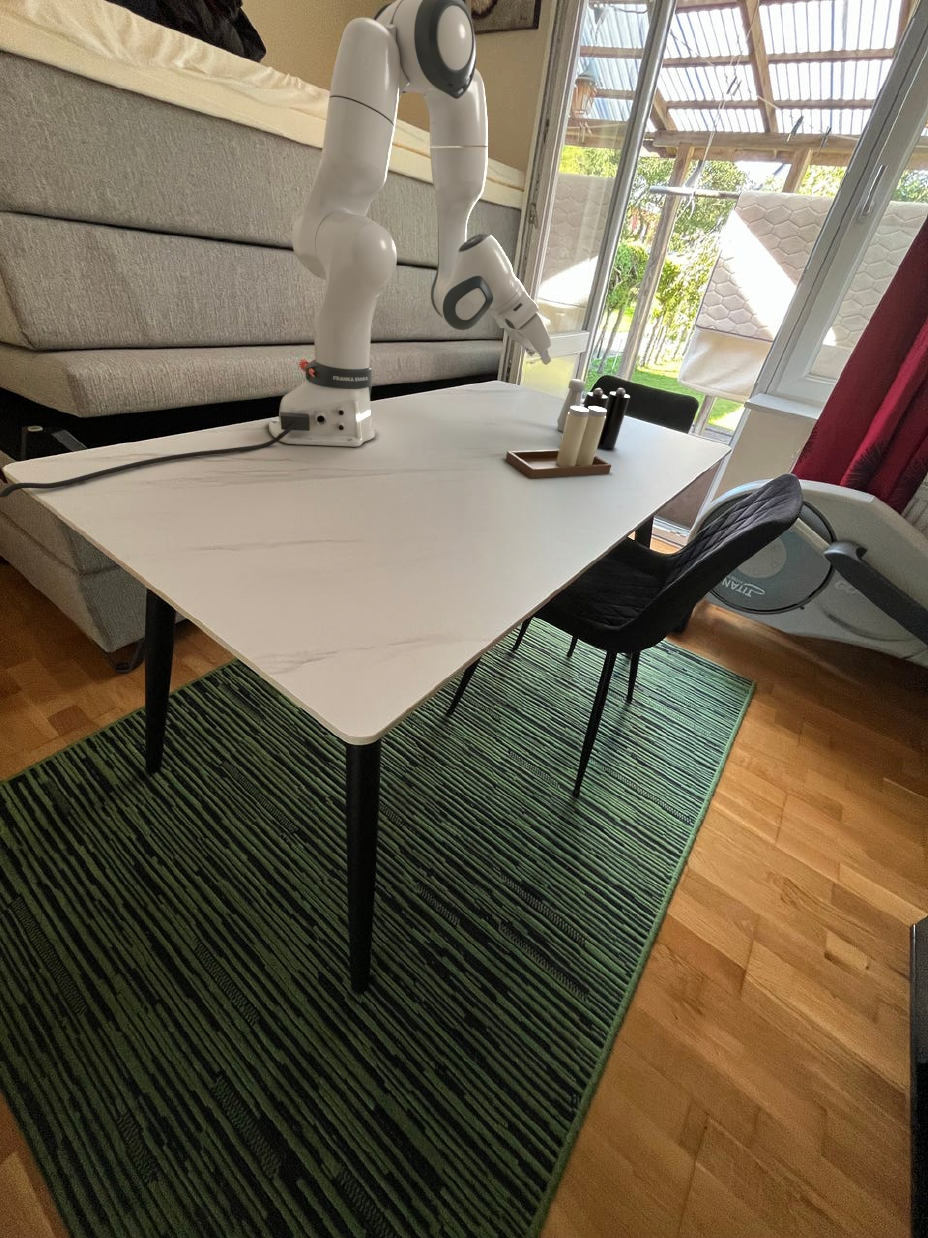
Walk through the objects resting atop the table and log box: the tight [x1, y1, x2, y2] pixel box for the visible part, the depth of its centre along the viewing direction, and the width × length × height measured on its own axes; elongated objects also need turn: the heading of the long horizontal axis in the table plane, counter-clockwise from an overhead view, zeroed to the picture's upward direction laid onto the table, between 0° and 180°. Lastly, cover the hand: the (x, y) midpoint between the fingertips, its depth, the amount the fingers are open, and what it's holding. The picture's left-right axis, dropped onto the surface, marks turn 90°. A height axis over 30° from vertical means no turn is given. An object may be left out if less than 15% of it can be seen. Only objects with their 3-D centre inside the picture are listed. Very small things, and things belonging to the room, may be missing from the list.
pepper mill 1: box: [582, 387, 609, 409], centre depth 126 cm, size 5×5×14 cm
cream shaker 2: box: [576, 406, 607, 466], centre depth 116 cm, size 4×4×12 cm
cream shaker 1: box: [556, 406, 589, 466], centre depth 113 cm, size 4×4×12 cm
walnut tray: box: [505, 449, 612, 479], centre depth 116 cm, size 22×11×2 cm, turn 117°
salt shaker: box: [557, 378, 586, 433], centre depth 138 cm, size 6×6×13 cm
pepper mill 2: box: [597, 387, 631, 451], centre depth 130 cm, size 5×5×14 cm
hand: (539, 357), depth 128 cm, fingers open, 8 cm apart
